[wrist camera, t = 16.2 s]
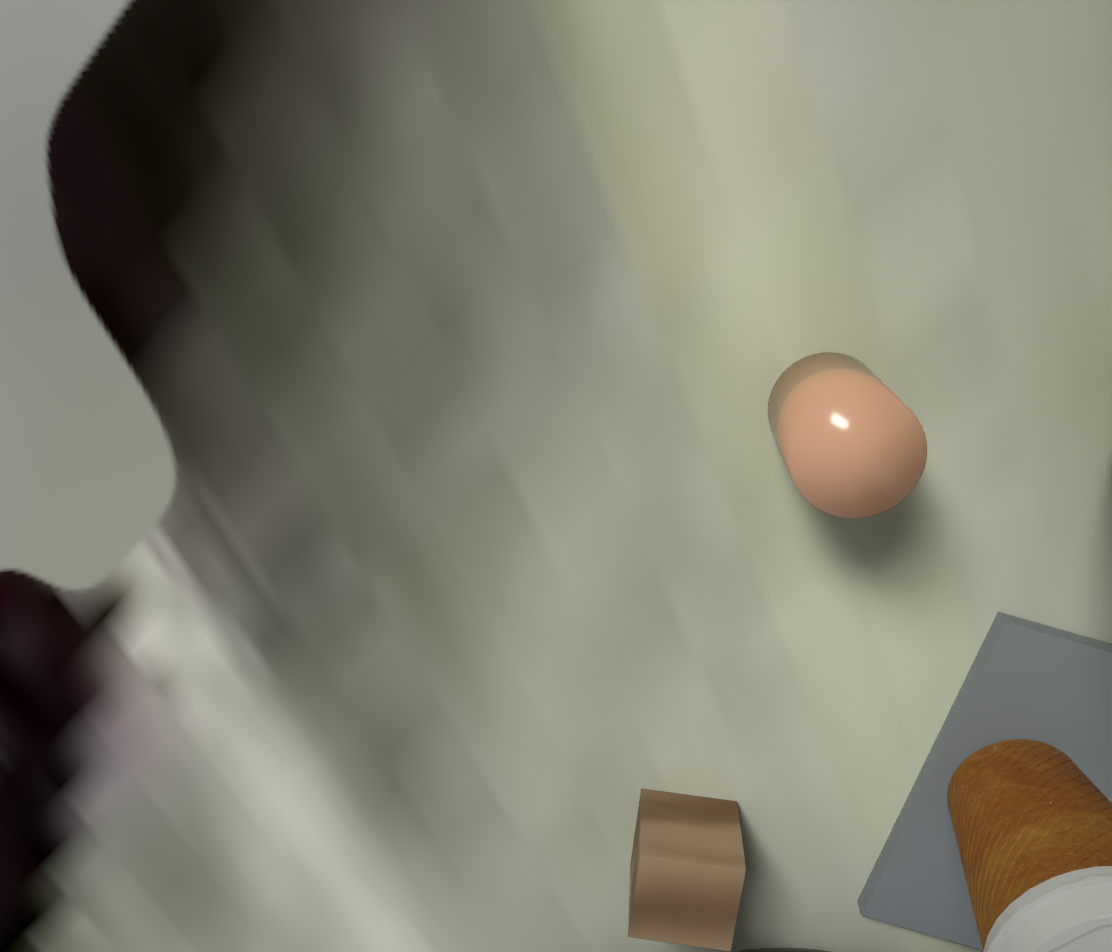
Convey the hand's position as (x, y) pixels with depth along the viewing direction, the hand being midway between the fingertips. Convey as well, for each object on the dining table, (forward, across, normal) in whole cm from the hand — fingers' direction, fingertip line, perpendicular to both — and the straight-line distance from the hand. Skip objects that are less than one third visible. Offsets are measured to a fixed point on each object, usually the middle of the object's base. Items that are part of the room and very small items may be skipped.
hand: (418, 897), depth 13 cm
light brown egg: (+31, +11, +1) cm, 33 cm away
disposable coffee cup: (+31, +25, -15) cm, 42 cm away
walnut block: (+32, +11, -23) cm, 41 cm away
